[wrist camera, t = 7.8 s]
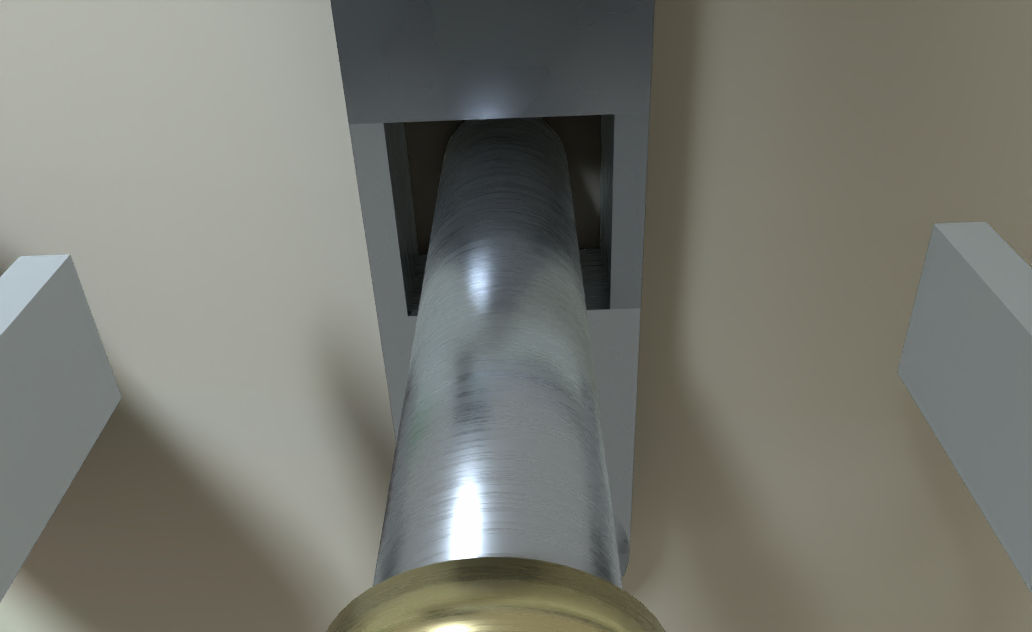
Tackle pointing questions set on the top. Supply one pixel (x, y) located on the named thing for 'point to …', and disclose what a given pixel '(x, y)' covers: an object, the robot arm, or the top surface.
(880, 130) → the top surface
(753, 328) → the top surface
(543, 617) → the pin
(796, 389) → the top surface
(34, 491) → the robot arm
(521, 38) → the grey rounded bar
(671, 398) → the top surface
